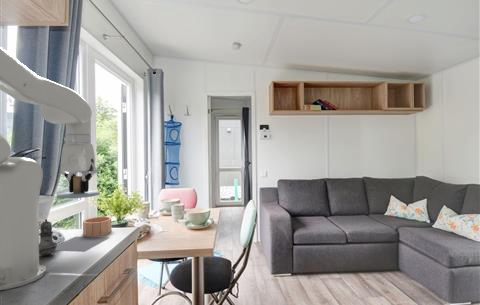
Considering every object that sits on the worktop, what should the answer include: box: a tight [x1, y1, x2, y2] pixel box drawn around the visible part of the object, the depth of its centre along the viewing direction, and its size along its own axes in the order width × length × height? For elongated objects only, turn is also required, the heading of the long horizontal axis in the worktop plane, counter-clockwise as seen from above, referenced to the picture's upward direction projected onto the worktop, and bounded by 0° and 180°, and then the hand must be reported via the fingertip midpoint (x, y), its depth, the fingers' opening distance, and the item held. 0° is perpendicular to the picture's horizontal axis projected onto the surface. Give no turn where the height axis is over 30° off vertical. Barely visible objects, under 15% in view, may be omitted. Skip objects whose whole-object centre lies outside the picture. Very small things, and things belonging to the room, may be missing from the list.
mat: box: [54, 236, 111, 253], centre depth 94 cm, size 14×14×1 cm
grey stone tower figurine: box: [39, 218, 59, 259], centre depth 83 cm, size 6×6×12 cm
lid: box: [56, 175, 101, 200], centre depth 94 cm, size 13×13×7 cm
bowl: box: [82, 216, 112, 237], centre depth 107 cm, size 10×10×6 cm
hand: (79, 191), depth 94 cm, fingers closed on lid, 3 cm apart
